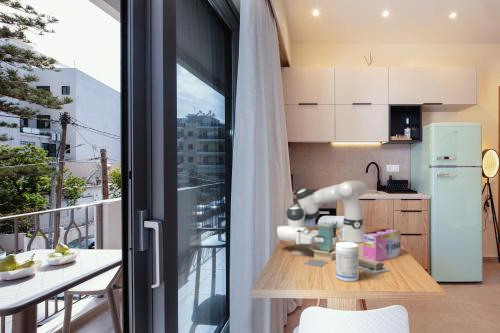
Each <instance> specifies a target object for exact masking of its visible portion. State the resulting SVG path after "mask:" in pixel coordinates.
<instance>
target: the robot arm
mask: <svg viewBox="0 0 500 333" xmlns="http://www.w3.org/2000/svg"><path fill="white" fill-rule="evenodd" d="M367 188H368V187H367V184H366V183H365V181H364V182H363V181H362V180H358V179H357V180H345V181H344V182H341V183H339V184H333V185H330V186H326V187H322V188H320V189H317V190H316V191H313V190H312V189H308V188H302V189H299V190H298V191H297V192H296V194H295V197H296V200H297V203H295V204H292V205H291V206H290V207H289V208H288V209H287V211H286V213H285V214H286V217H287V218H286V219H287V225H279V226H277V228H276V237H277V239H278V240H280V241H284V242H287V243H288V242H289V243H292V242H294V243H295V244H296V245H312V244H315V243H318V242H324V241H325V239H324V238H318V229H317V230H316V229H312V230H309V228H308V227H306V224H305V220H314V219H316V218H318V217H319V216H320V214H321V213H320V209H319V207H318V205H326V204H327V205H328V204H331V203H336V202H340V201H342V202H343V210H344V212H343V214H344V216H343V222H342V223H343V224H342V225H341V226H339V229H337V232H338V233H339V234H336V235H337V237H338V238H337V237H336V238H337V240H338V242H339V241H340V242H351V243H356V244H359V243H363V233H366V228H365V226H364V219H363V206H362V205H361V203H360V198H359V197H362V196H364V195H365V194H366V192H367V190H368V189H367Z"/></svg>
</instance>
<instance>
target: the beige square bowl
mask: <svg viewBox="0 0 500 333" xmlns="http://www.w3.org/2000/svg"><path fill="white" fill-rule="evenodd" d="M309 249H310V250H311V251H312V252H313V258H314V259H317V260H319V259H320V260H325V261H332V260H335V259H336V245H334V244H333V252H332V253H329V252H324V251H318V250H319V247H318V244H315V245H312V246H309Z"/></svg>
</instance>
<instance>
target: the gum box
mask: <svg viewBox="0 0 500 333" xmlns="http://www.w3.org/2000/svg"><path fill="white" fill-rule="evenodd" d="M401 236H402V235H401V229H399V230H394V229H391V228H390V227H389V228H384V229H383V228H381V229H379V230H374V231H369V232H365V233H363V242H362V249H363V250H362V252H363V254H362V256H363V257H366V258H369V259H372V260H376V261H379V262H382V261H386V260H390V259H393V258H397V257H400V256H402V242H401V241H402V239H401V238H402V237H401Z"/></svg>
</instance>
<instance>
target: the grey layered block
mask: <svg viewBox="0 0 500 333" xmlns="http://www.w3.org/2000/svg"><path fill="white" fill-rule="evenodd" d="M384 266H385V264H384V262H382V261H376V260H372V259H369V258H366V257H363V255H359V271H362V272H365V273H367V274H368V273H369V274H372V275H376V276H377V275H380V274H384V273H388V272H390V268H386V267H384Z"/></svg>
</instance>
